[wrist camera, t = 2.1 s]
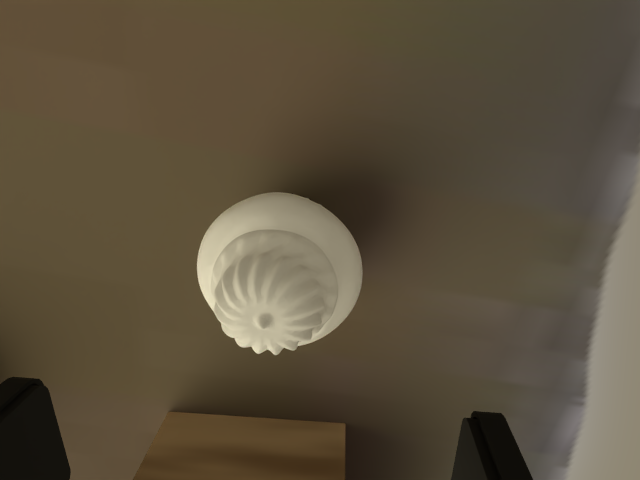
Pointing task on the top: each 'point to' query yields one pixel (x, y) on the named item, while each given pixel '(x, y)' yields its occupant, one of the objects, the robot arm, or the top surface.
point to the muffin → (279, 271)
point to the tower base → (244, 449)
